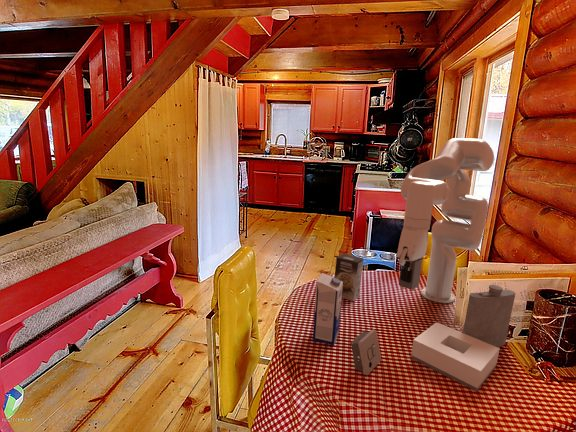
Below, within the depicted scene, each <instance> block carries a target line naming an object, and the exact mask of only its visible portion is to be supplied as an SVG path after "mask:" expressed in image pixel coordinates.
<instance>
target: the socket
mask: <svg viewBox="0 0 576 432" xmlns="http://www.w3.org/2000/svg"><path fill="white" fill-rule="evenodd" d="M412 341H413V343H412V347H411V348H412V349H411V356H410V358H411V359H412V360H413V361H416V362H418V363H420V364H422V365H424V366H425V367H427V368H430V369H432V370H433V371H436V372H437V373H439V374H441V375H443V376H446V377H447V378H449V379H451V380H453V381H454V382H457V383H459V384H460V385H462V386H465V387H466V388H469V389H471V390H473V391H474V392H476V393H477V392H478V391H479V390H480V388H482V385H483V384H485V382H486V381H487V379H488V378H489V376H490V375H491V374H492V373H493V372H494V370H495V369H496V368H497V363H498V360H499V353H500V348H501V347H495V346H493V345H490V344H488V343H486V342H483V341H481V340H478V339H476V338H473V337H471V336H469V335H466V334H464V333H463V332H461V331H459V330H456V329H454V328H451V327H449V326H447V325H444V324H442V323H439V322H435V323H433V324H432V325H431V326H430V327H429V328H427V329H426V330H424V331H423V332H422V333H421V334H419V335H418V336H416V337H415V338H413V340H412Z"/></svg>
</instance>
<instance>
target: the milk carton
mask: <svg viewBox="0 0 576 432" xmlns="http://www.w3.org/2000/svg"><path fill="white" fill-rule="evenodd" d="M342 287H343V282H342V281H340V280H338V279H336V278H335V276H332V275H329V274H326V273H324V272H321V274H320V275H319V277H318V278H317V280H316V284H315V300H314V301H315V302H314V316H313V317H314V318H313V331H312V341H313V342H317V343H322V344H326V345H330V346H335V345H336V341H337V339H338V336H339V333H340V331H339V330H340V321H341V310H342V309H341V308H342V299H343V298H342Z"/></svg>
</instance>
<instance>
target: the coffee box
mask: <svg viewBox="0 0 576 432" xmlns="http://www.w3.org/2000/svg"><path fill="white" fill-rule="evenodd" d="M363 264H364V258H363V257H359V256H355V255H351V254H347V253H341V254H339V255H338V256H336V259H335V267H334V268H335V270H334V271H335V272H334V278H336V279H338V280H340V281H342V282H343V287H342V299H345V300H348V301H352V302H355V301H356V300H357V299H358V298H359V297H360V292H361V291H360V290H361V286H362V285H361V283H362V282H361V281H362V274H363Z"/></svg>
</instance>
